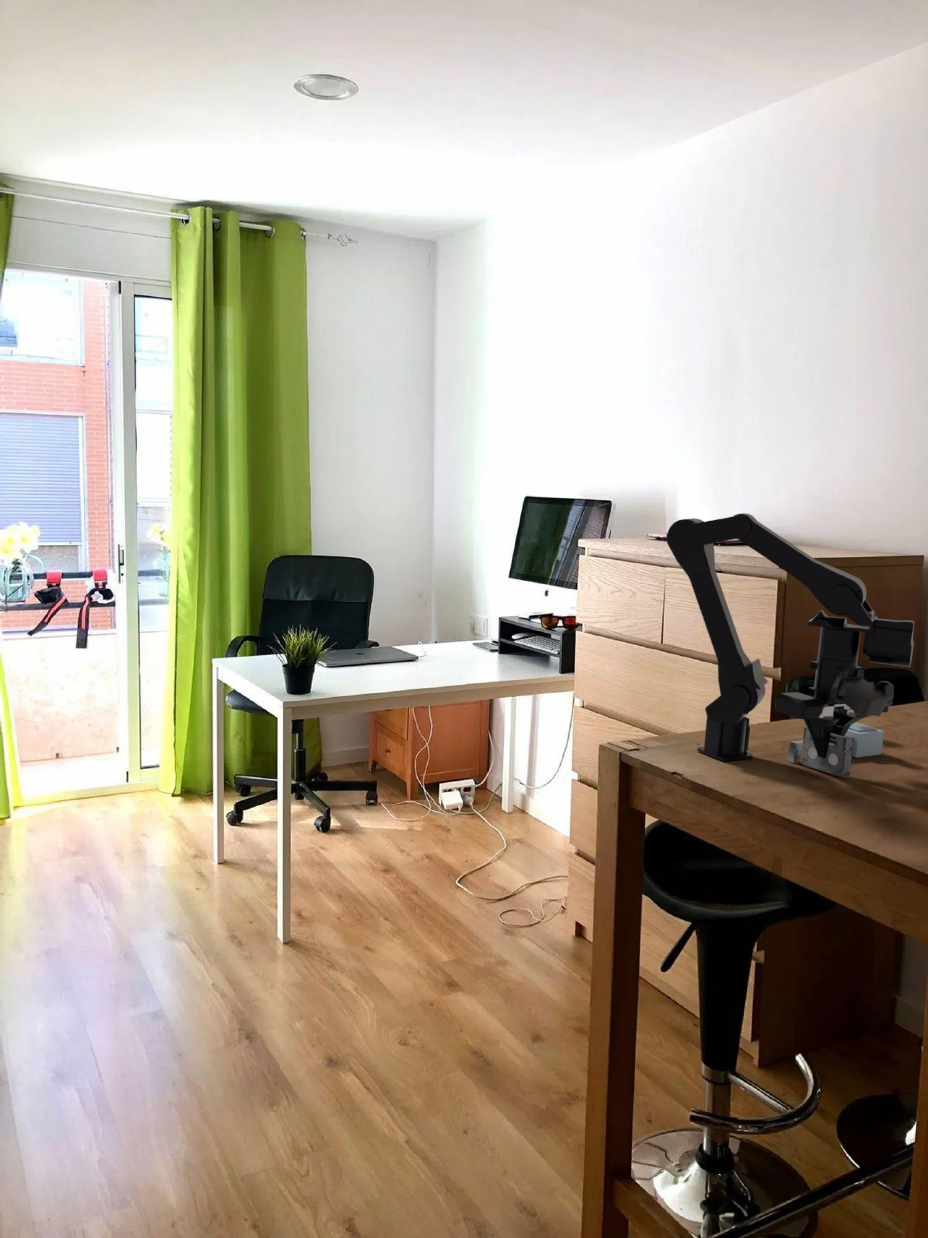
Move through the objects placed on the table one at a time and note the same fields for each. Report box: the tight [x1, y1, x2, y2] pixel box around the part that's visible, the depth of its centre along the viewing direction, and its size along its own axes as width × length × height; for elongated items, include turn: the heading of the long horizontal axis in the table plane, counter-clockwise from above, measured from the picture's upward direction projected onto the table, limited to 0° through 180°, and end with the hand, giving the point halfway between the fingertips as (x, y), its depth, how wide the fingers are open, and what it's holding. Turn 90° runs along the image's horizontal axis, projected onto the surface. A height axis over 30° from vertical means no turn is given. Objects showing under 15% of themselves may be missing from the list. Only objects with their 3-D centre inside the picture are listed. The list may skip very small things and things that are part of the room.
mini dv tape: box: [801, 726, 853, 778], centre depth 154 cm, size 8×2×6 cm, turn 28°
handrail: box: [786, 735, 854, 764], centre depth 162 cm, size 13×1×3 cm, turn 118°
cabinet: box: [845, 721, 885, 758], centre depth 168 cm, size 6×8×4 cm
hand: (826, 757), depth 154 cm, fingers closed
